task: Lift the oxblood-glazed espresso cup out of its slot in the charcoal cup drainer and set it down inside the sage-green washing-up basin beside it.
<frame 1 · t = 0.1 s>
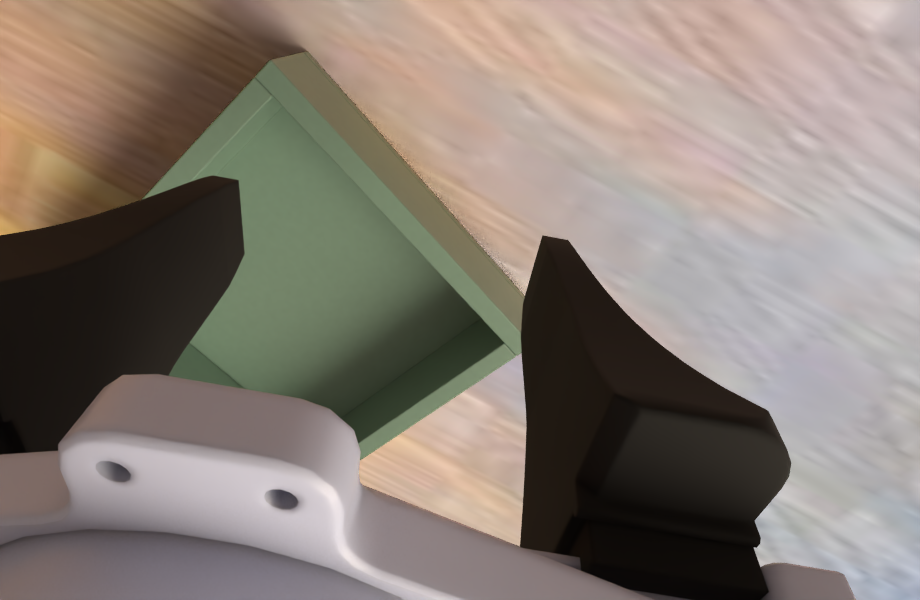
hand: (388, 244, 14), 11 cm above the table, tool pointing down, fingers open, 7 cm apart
basin: (309, 286, 26), on the table
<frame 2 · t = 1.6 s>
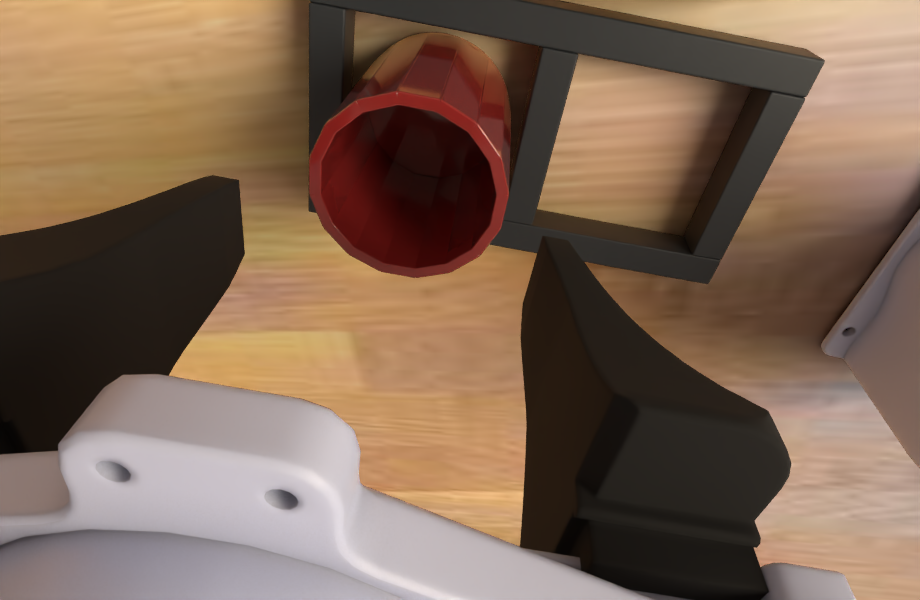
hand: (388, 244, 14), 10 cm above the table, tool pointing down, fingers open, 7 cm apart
drainer: (535, 130, 21), on the table
cup: (436, 111, 21), resting in drainer
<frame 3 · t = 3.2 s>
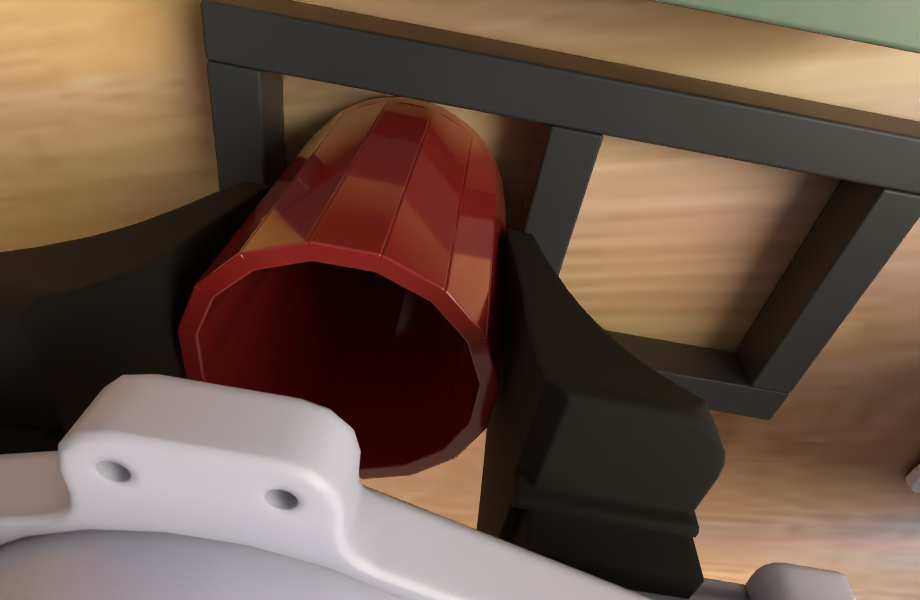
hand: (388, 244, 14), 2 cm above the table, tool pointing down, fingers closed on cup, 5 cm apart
drainer: (539, 223, 16), on the table
cup: (402, 198, 15), resting in drainer, touching gripper
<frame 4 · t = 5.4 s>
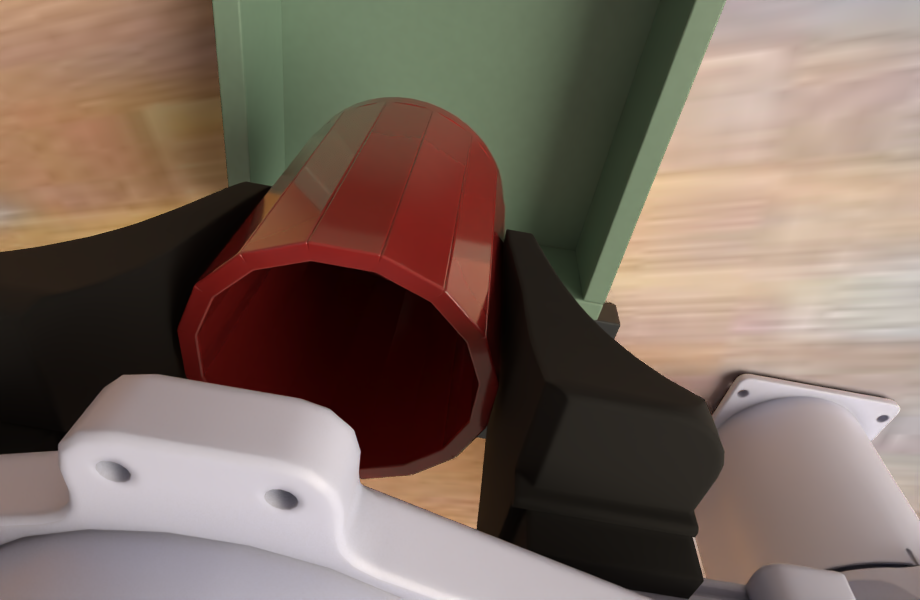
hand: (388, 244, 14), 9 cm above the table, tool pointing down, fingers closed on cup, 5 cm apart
basin: (458, 55, 20), on the table
drainer: (424, 344, 28), on the table
cup: (402, 198, 16), point 7 cm above the table, touching gripper
when the fingers open (3 cm above the table, at t = 7.7 s): cup stays where it is, resting on basin.
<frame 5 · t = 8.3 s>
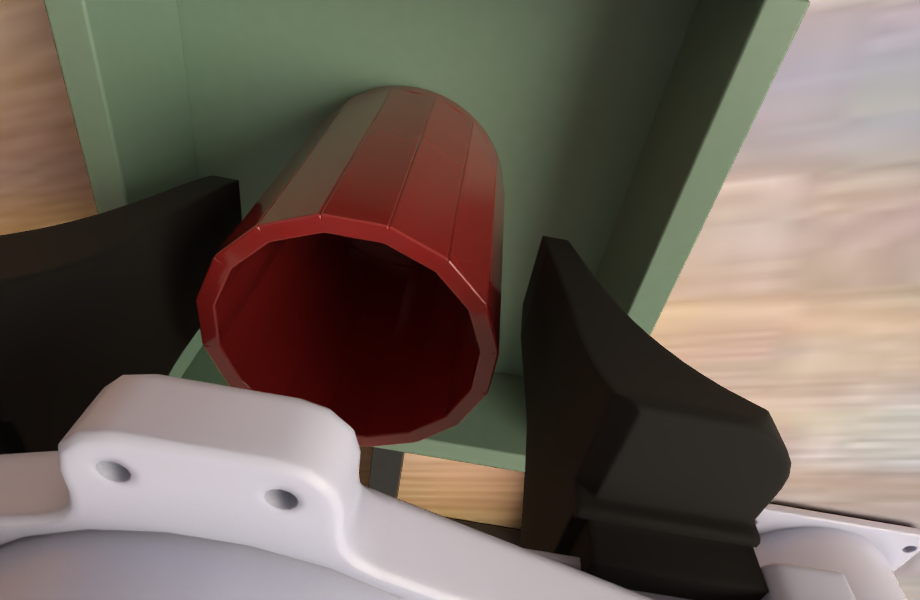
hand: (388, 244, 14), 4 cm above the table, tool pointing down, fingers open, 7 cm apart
basin: (410, 178, 17), on the table
drainer: (388, 464, 25), on the table
cup: (405, 184, 16), resting on basin
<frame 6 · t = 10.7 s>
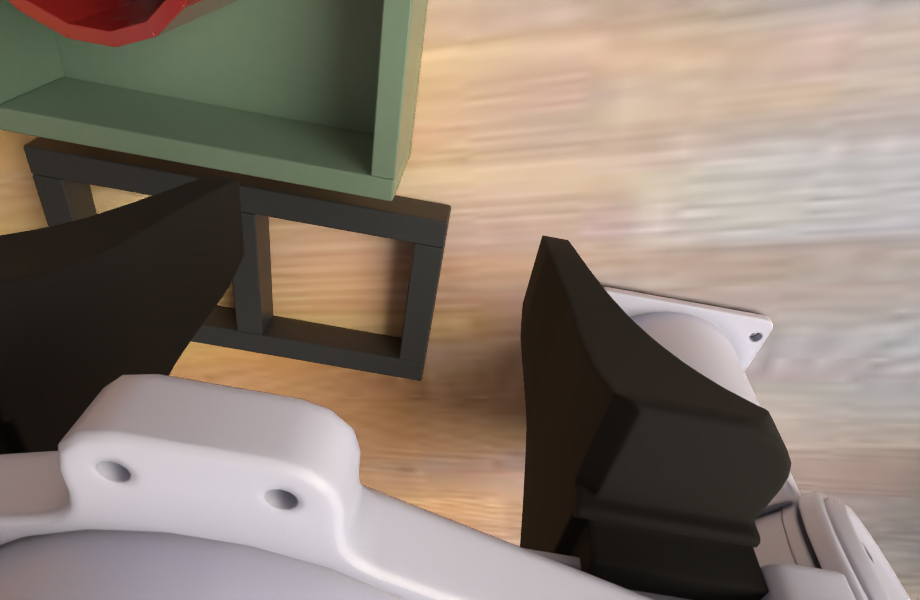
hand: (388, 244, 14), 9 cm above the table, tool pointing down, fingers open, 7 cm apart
drainer: (257, 258, 26), on the table
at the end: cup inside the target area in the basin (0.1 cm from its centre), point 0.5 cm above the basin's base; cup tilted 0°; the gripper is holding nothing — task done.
